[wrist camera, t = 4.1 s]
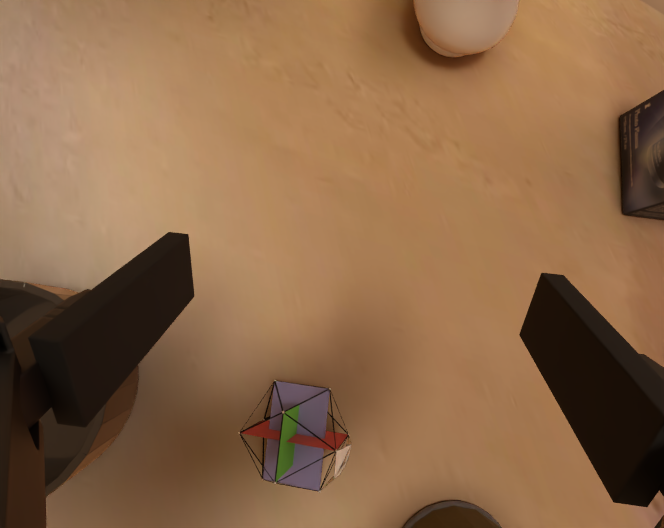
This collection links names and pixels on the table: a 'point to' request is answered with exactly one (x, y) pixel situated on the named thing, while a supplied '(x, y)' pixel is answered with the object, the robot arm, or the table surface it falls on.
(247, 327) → the table surface
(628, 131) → the small box
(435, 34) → the flower vase
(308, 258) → the table surface
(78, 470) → the round brown bowl
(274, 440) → the geometric puzzle
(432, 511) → the canister
